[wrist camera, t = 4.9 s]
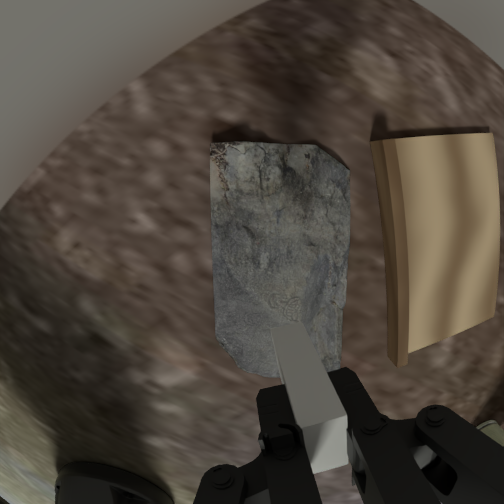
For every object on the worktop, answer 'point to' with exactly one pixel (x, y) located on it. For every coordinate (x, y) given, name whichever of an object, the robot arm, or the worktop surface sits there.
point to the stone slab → (278, 248)
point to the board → (437, 236)
